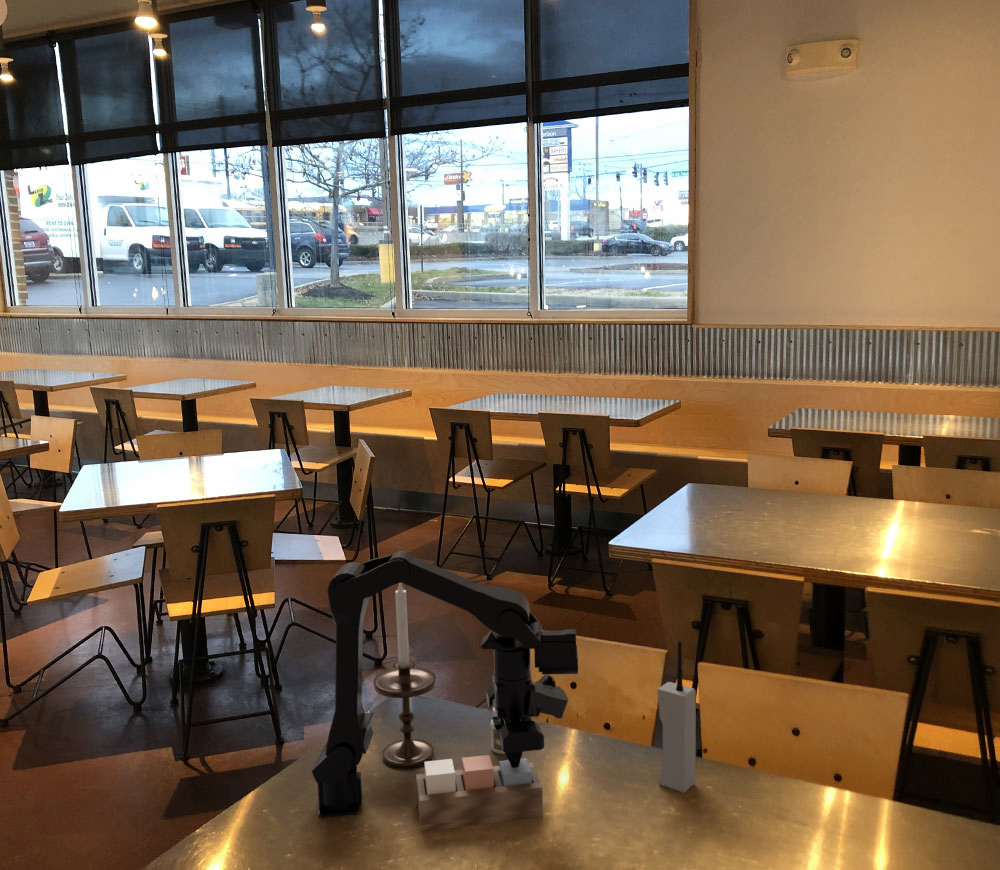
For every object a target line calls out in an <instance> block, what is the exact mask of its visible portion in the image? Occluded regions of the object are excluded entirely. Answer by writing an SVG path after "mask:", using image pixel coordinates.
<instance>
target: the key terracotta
mask: <svg viewBox="0 0 1000 870" xmlns="http://www.w3.org/2000/svg"><path fill="white" fill-rule="evenodd" d="M493 766H494V765H493V763H492V759H491V756H490V755H489V754H485V755H477V756H476V755H475V756H467V757H461V767H462V769H461V770H462V772H463V784H464V788H465V791H467V790H476V789H485V788H494V772H493Z"/></svg>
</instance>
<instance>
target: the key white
mask: <svg viewBox="0 0 1000 870" xmlns="http://www.w3.org/2000/svg"><path fill="white" fill-rule="evenodd" d="M453 761H454V760H453V759H452V758H447V759H438V760H436V759H435V760H431V761H426V762H424V765H423V766H424V774H425V786H426V793H427V795H431V794H440V793H449V792H456V786H455V767H454V762H453Z"/></svg>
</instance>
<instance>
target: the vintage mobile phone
mask: <svg viewBox="0 0 1000 870" xmlns="http://www.w3.org/2000/svg"><path fill="white" fill-rule="evenodd" d="M682 647H683V645H682V641H680V640H678V641H677V670H676V671H677V672H676V682H672V681H667V682H665V683H664V684H663V685H661V686H660V687H658V688H657V700H658V711H659V713H658V714H659V719H660V722H661V724H662V769H661V771H660V773H659V774H658V777H657V784H659V786H662V787H666V788H669V789H671V790H674V791H677V792H680V793H682V794H685V793H686V792H687V791H688V790H689V789H690V788H691V787H693V786H694V785H695V784H696V732H697V731H696V727H697V726H696V721H697V719H696V717H697V716H696V714H697V711H696V708H697V707H696V706H697V701H696V700H697V695H696V694H697V693H696V689H695V688H692V687H689V686H686V685H683V666H682V665H683V663H682V658H683V657H682V655H683V653H682V652H683V649H682Z"/></svg>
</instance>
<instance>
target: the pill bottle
mask: <svg viewBox="0 0 1000 870" xmlns="http://www.w3.org/2000/svg"><path fill="white" fill-rule="evenodd" d="M492 716H493V717H496V716H497V715H496V712H495V709H494V706H492ZM493 717H492V718H493ZM490 720H491V721H490V743H491V744H490V745H491V750H492V751H493V752H494V753H496V754H499V755H506V753H505V752H503V749H502V746H501V743H500V740H499V738H498V735H497V732H496V729H495V726H494V723H493V720H492V719H490Z"/></svg>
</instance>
